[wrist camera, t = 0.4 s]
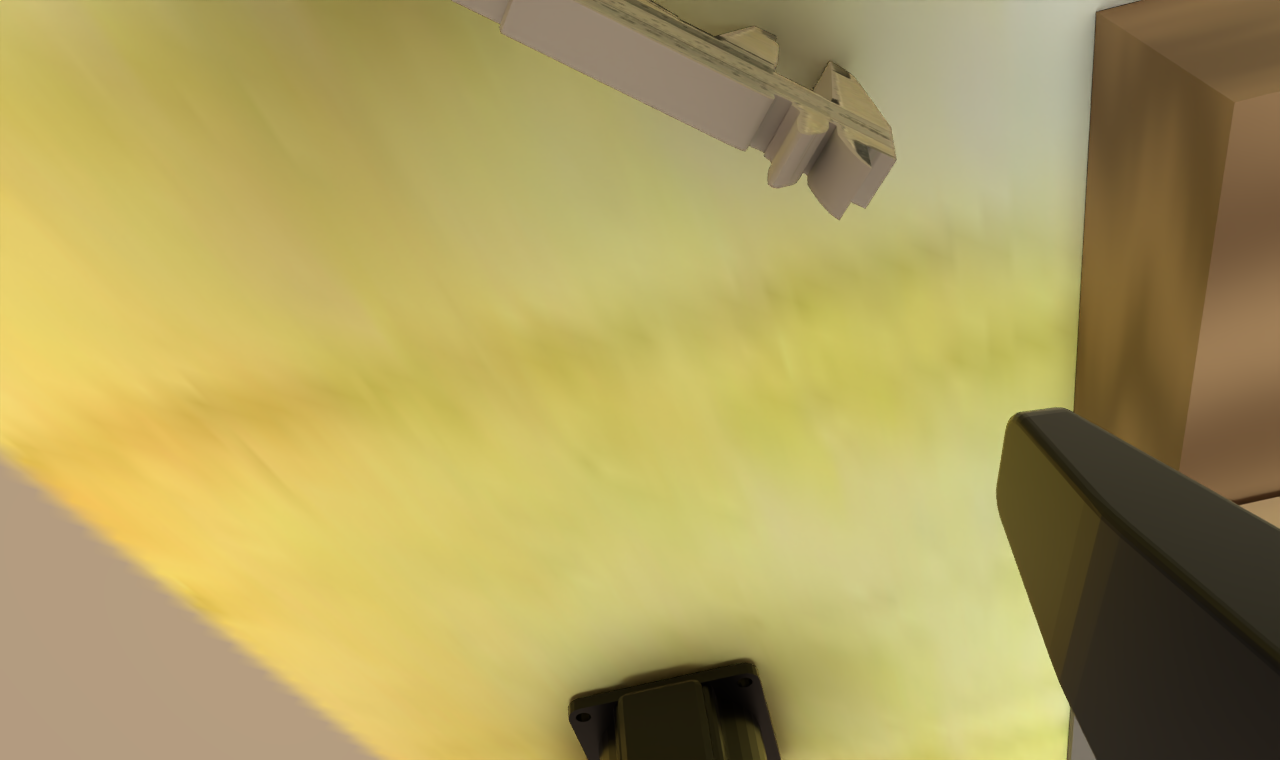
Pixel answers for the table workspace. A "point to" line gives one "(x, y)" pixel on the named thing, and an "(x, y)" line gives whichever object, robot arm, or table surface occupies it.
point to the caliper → (717, 88)
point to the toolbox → (1186, 240)
